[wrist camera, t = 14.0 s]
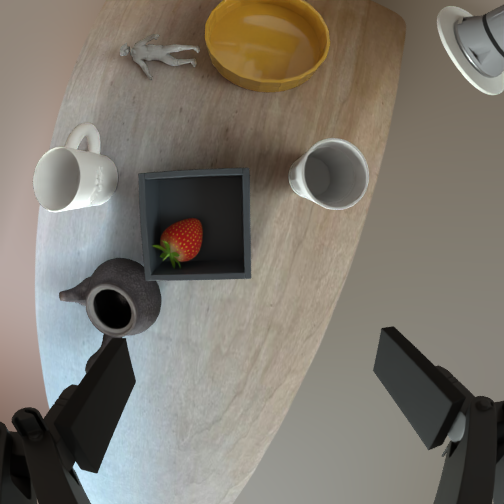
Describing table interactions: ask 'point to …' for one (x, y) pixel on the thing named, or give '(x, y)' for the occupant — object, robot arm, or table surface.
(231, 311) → the table surface
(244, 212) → the bin
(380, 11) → the table surface
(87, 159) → the mug
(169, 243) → the fruit
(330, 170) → the cup
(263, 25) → the bowl
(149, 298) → the teapot
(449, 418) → the robot arm
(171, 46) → the soldier figure
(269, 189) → the table surface
